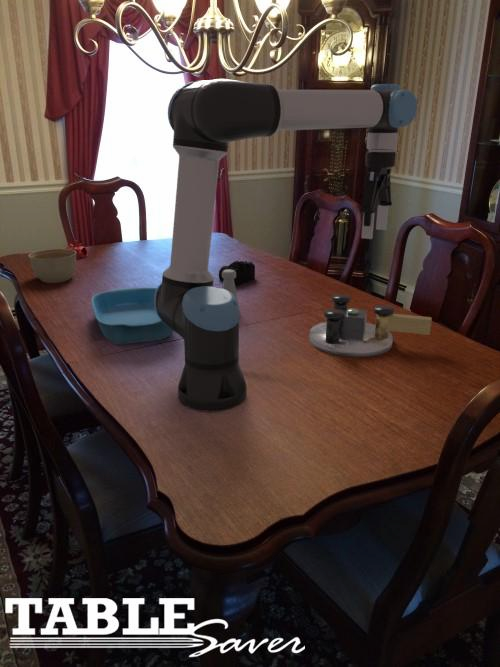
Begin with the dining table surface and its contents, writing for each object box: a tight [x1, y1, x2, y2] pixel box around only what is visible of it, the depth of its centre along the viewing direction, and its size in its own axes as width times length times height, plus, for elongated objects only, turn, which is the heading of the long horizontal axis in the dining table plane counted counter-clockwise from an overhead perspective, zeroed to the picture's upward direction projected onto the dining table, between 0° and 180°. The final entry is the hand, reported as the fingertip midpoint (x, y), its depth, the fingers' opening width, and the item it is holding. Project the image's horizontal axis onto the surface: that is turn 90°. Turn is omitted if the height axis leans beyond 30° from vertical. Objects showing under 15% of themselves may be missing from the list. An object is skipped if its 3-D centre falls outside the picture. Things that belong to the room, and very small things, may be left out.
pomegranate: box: [64, 239, 89, 260], centre depth 227 cm, size 10×10×9 cm
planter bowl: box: [28, 248, 77, 284], centre depth 198 cm, size 16×16×11 cm
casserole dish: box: [90, 286, 175, 345], centre depth 158 cm, size 37×22×7 cm, turn 19°
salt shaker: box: [222, 269, 239, 301], centre depth 170 cm, size 6×6×13 cm
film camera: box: [218, 260, 256, 288], centre depth 199 cm, size 15×10×9 cm, turn 141°
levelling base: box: [309, 293, 394, 358], centre depth 148 cm, size 22×22×10 cm
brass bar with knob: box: [373, 304, 432, 339], centre depth 144 cm, size 15×5×8 cm, turn 74°
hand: (374, 233), depth 149 cm, fingers open, 13 cm apart
